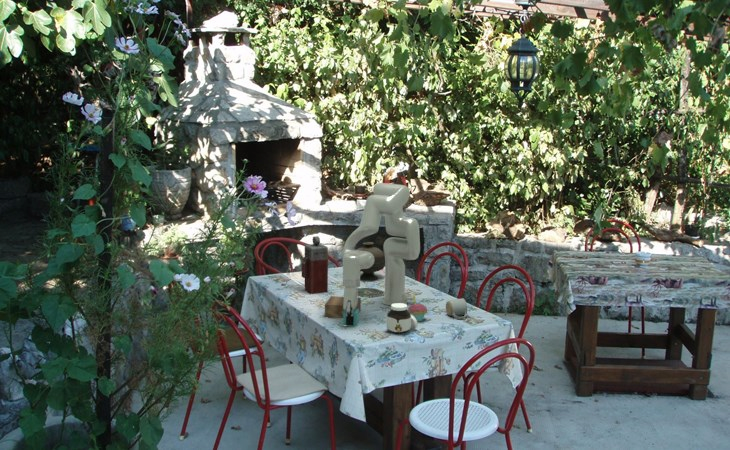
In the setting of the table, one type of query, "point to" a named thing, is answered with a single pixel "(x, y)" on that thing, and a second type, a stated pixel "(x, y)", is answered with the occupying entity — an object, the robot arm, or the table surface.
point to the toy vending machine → (315, 267)
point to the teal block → (355, 314)
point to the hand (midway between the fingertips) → (351, 322)
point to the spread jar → (400, 319)
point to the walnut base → (337, 307)
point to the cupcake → (417, 310)
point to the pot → (378, 262)
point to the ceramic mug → (456, 308)
